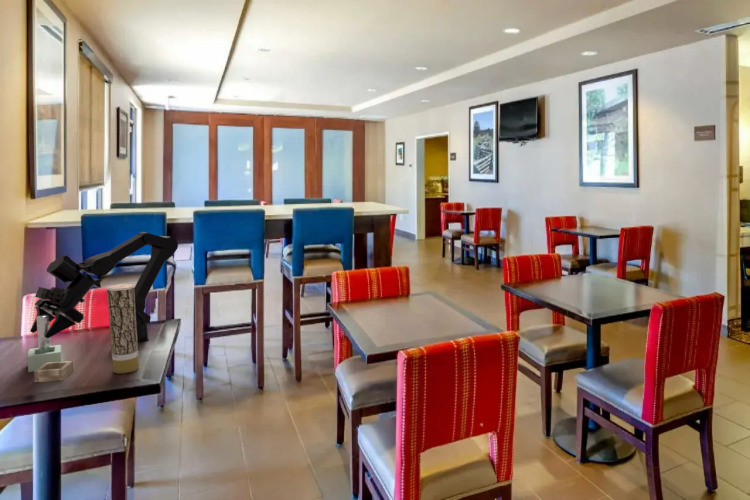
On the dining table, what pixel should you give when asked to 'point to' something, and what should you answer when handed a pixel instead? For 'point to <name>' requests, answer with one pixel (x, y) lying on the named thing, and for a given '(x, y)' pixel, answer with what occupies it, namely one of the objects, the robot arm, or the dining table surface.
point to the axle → (43, 334)
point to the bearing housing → (53, 371)
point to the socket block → (43, 357)
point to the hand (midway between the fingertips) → (38, 334)
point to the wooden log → (123, 328)
